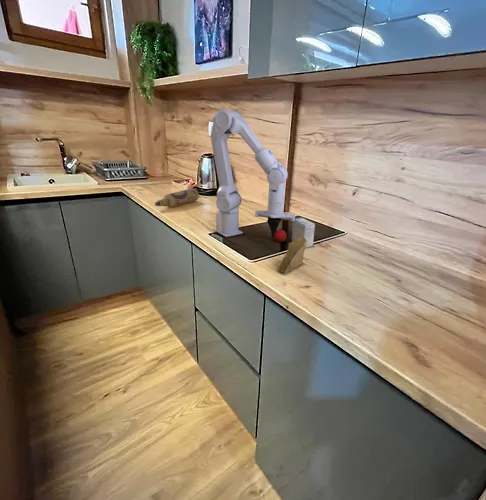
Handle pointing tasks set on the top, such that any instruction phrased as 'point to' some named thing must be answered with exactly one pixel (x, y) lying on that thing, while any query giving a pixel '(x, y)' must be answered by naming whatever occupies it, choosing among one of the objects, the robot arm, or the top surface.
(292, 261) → the rock
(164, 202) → the decorative bottle
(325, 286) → the top surface
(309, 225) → the medicine box
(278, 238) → the ball
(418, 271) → the top surface
